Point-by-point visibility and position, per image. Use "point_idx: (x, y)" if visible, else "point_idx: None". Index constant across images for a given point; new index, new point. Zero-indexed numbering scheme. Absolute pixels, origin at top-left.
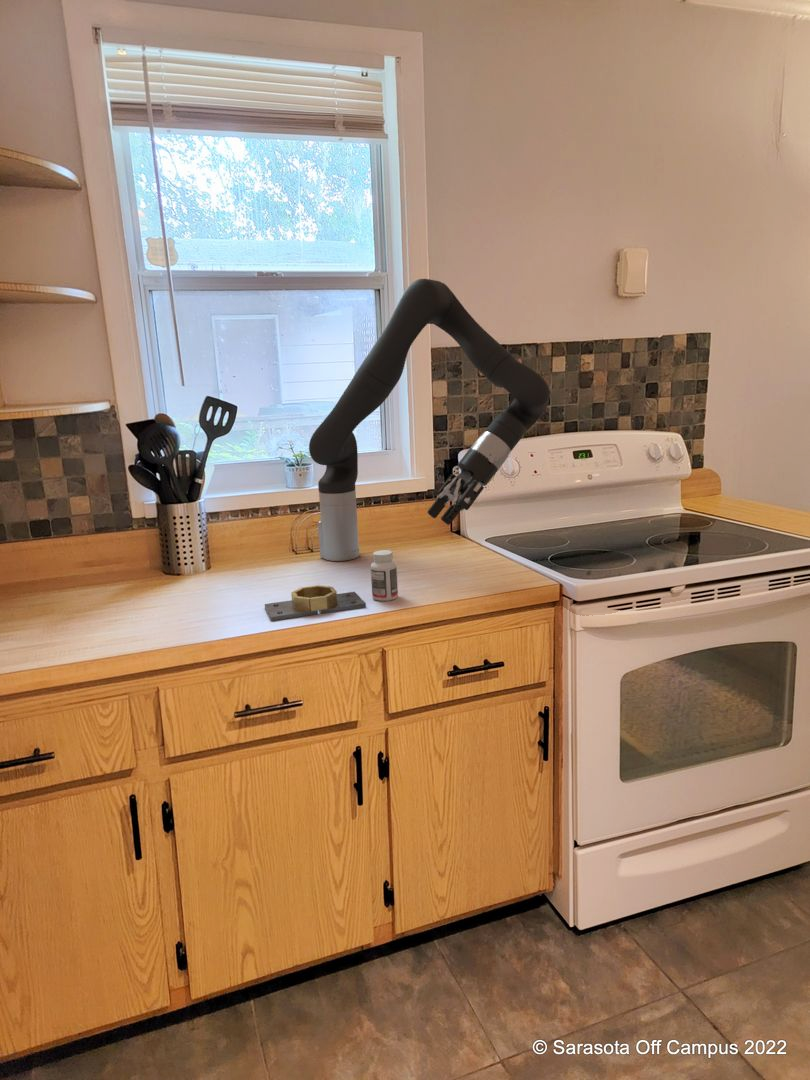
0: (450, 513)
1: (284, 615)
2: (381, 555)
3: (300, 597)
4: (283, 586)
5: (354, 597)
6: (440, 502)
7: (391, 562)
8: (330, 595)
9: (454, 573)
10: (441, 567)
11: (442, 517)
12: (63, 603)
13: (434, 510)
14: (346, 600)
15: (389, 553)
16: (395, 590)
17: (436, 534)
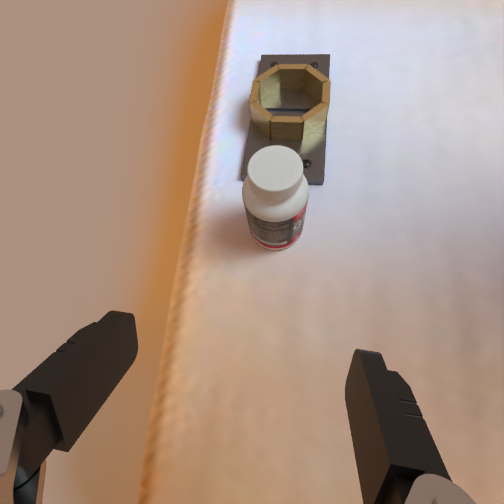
0: (57, 353)
1: (259, 69)
2: (251, 157)
3: (271, 71)
4: (447, 97)
5: None
6: (377, 477)
7: (257, 198)
8: (255, 110)
9: None
10: (477, 484)
11: (108, 312)
12: None
13: (357, 396)
14: None
15: (252, 177)
16: (253, 233)
17: None
